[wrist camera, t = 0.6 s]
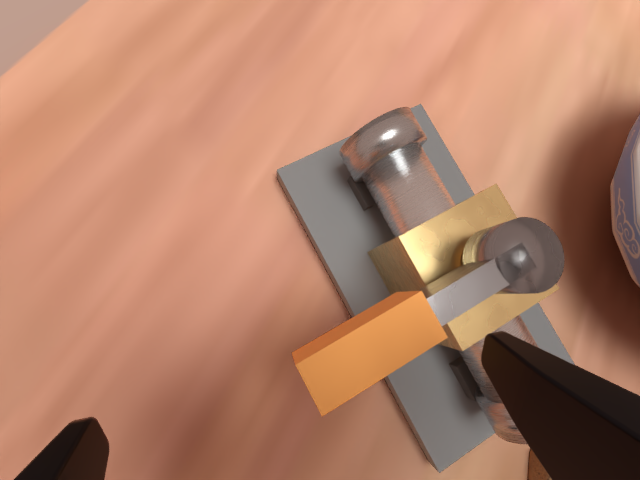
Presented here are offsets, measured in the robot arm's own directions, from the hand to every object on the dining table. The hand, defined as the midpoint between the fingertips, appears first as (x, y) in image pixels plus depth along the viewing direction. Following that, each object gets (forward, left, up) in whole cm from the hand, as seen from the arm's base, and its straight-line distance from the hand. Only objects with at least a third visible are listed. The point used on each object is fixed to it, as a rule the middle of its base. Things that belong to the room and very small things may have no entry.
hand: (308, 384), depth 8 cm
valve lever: (-3, -5, -7) cm, 9 cm away
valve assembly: (-4, -10, -16) cm, 19 cm away
